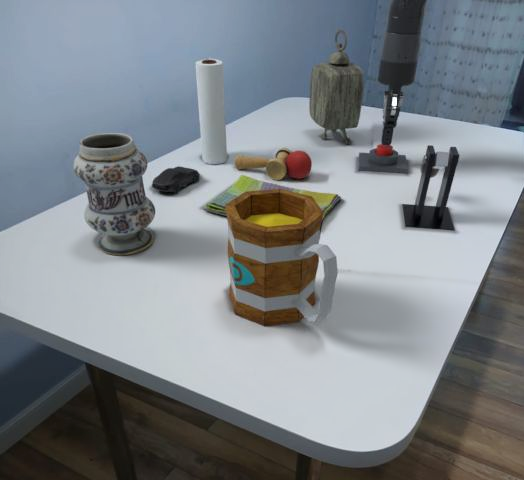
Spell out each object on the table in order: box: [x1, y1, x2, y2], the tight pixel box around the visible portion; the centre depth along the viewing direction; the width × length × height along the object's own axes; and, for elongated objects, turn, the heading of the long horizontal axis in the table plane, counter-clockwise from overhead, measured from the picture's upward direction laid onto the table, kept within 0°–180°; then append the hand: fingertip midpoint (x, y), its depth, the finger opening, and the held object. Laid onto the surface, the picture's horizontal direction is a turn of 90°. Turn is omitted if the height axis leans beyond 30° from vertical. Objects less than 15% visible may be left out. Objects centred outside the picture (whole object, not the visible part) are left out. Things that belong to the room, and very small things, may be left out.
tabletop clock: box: [308, 28, 365, 145], centre depth 125 cm, size 14×9×25 cm, turn 14°
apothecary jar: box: [73, 132, 156, 256], centre depth 84 cm, size 12×12×18 cm
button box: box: [357, 147, 409, 175], centre depth 116 cm, size 11×9×4 cm
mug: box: [225, 188, 339, 327], centre depth 70 cm, size 20×14×15 cm
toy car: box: [151, 165, 201, 194], centre depth 108 cm, size 6×12×4 cm, turn 149°
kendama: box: [234, 147, 313, 181], centre depth 113 cm, size 8×6×18 cm
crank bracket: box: [401, 144, 460, 232], centre depth 92 cm, size 10×9×14 cm
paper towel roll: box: [194, 57, 228, 165], centre depth 114 cm, size 7×6×21 cm
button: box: [376, 143, 394, 156], centre depth 114 cm, size 4×4×2 cm
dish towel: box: [202, 174, 342, 222], centre depth 100 cm, size 18×24×3 cm
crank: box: [420, 151, 450, 179], centre depth 94 cm, size 13×4×4 cm, turn 171°
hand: (385, 143), depth 113 cm, fingers closed
